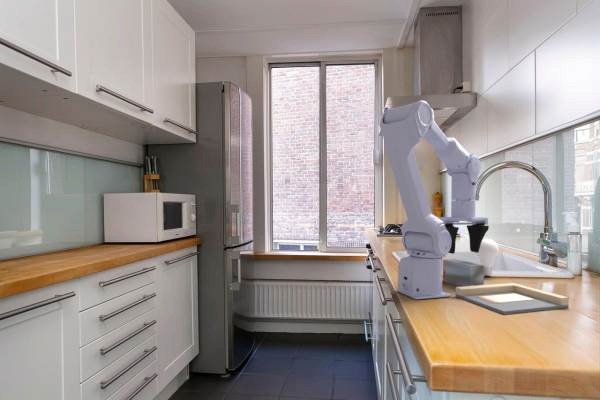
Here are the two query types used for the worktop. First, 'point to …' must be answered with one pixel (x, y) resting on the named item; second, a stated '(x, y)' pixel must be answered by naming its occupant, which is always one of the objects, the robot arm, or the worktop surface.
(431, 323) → the worktop surface
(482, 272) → the painted block
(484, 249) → the lightbulb
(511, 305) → the tray
